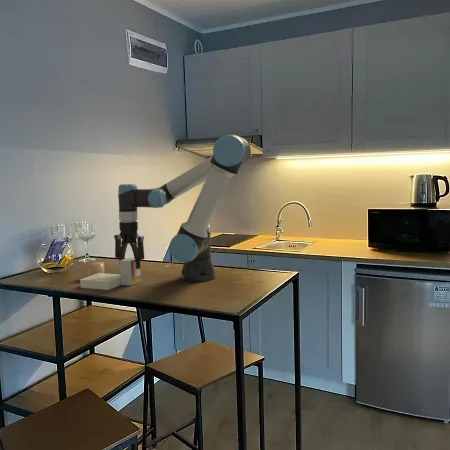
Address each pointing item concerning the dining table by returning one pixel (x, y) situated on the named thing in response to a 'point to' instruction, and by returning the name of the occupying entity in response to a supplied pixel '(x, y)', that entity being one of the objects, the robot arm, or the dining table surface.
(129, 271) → the small box
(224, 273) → the dining table surface
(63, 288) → the dining table surface
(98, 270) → the brown rounded block
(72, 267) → the dining table surface
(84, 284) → the ceramic block
